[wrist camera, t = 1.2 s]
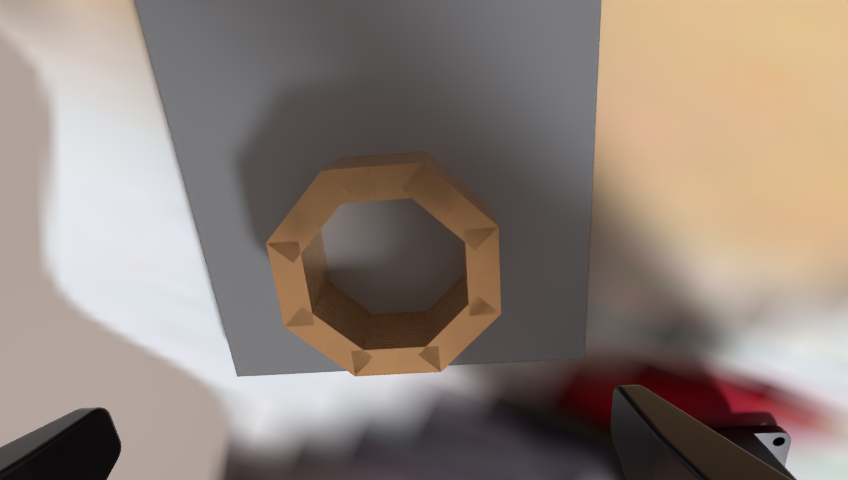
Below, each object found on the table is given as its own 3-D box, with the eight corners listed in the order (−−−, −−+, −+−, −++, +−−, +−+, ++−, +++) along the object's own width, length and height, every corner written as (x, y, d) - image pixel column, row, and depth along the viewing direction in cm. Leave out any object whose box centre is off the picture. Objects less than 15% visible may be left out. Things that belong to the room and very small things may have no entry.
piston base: (574, 341, 18) (627, 436, 13) (249, 359, 19) (181, 455, 14) (609, -547, 10) (779, -1178, 5) (40, -453, 11) (-300, -919, 6)
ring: (493, 330, 16) (502, 368, 14) (314, 340, 17) (295, 379, 14) (487, 146, 14) (496, 156, 12) (280, 162, 14) (251, 175, 12)
